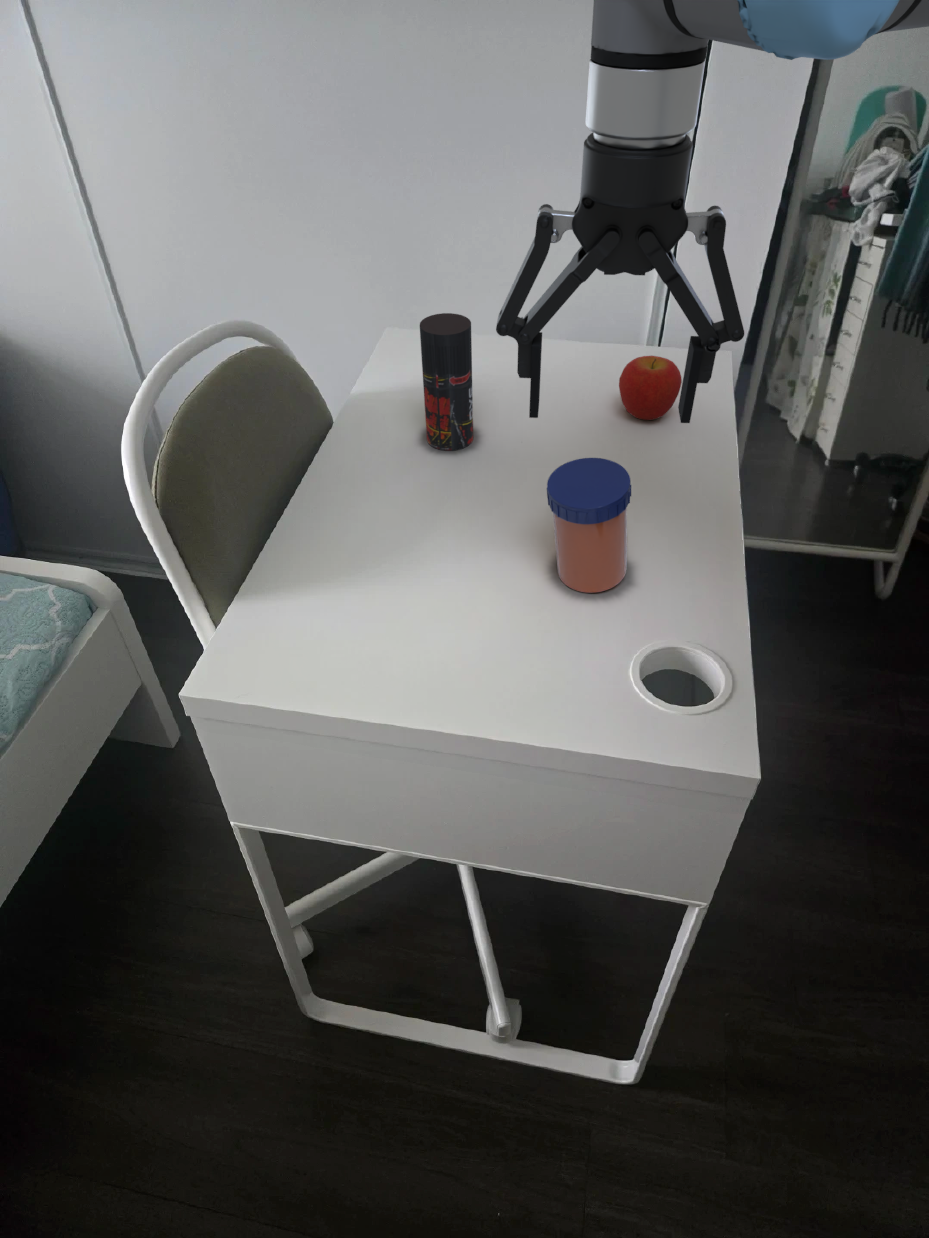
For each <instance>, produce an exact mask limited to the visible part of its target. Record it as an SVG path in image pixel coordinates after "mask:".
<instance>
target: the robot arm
mask: <svg viewBox="0 0 929 1238" xmlns="http://www.w3.org/2000/svg"><path fill="white" fill-rule="evenodd" d="M591 21H592V23H591V36H590V37H591V39H590V46H591V47H590V59H589V63H588V64H589V65H588V79H587V93H586V107H585V121H584V125H585V126H586V128H587V129H588V130H589V131H590V132H591V133H589V134H588V136H587V137H586V138H585V139H584V141H583V149H582V164H581V165H582V166H581V180H580V193H579V194H580V195H579V201H578V204H577V206H576V208H575V209H574V211H571V210H570V211H569V210H560V209H559V210H557V209H554V208H553V206H552V205H550V204H548V203H544V204H542V205H541V206H540V207H539V208H538V211H537V217H536V224H535V235H534V238H533V239H532V242H531V244H530V246H529V248H528V250H527V252H526V255H525V257H524V259H523V261H522V263H521V266H520V268H519V269H518V271H517V274H516V276H515V278H514V281H513V283H512V285H511V287H510V289H509V291H508V293H507V295H506V297H505V300H504V302H503V304H502V307H501V309H500V311H499V312H498V317H497V321H496V326H495V331H496V333H497V335H499V336H500V337H507V336H508V337H509V338H513V340H515V341H516V343H517V370H516V371H517V372H516V373H517V375H518V378H519V379H530V386H529V413H528V414H529V415H528V418H530V419H538V418H539V410H540V396H541V395H540V394H541V393H540V392H541V375H542V374H541V371H542V348H543V332H542V330H543V329H544V327H546V325H547V324H548V323H549V322H550V321H551V320H552V318H553V317H554V316H555V315H556V314H557V312H558V311H559V310H560V309H561V308H562V307H563V306H564V304H565V303H566V302H567V301H568V300H569V298H570V297H571V296H573V294H574V293H575V292H576V290H578V289H579V287H580V286H581V285H582V284H583V283H585V282H586V281H587V280H588V279H589V278H590V277H591V276H592V274H593V273H594V272H595V271H596V270H598V271H599V272H602V273H603V275H604V276H617V275H620V274H624V273H626V274H629V275H633V276H646V273H649V272H651V271H654V270H655V271H656V273H657V275H658V276H659V278H660V279H661V281H662V282H663V284H665V286H666V287H667V289H668V290H669V292H670V293H671V295H672V297H673V298H674V300H675V301H676V302H677V304H678V306H679V308H680V310H681V311H682V313H683V314H684V316H685V318H686V319H687V321H688V322H689V324H690V325H691V327H692V328H693V330H694V332H695V334H696V335H690V337H689V343H688V348H687V349H688V350H687V355H686V361H685V365H684V371H683V377H682V383H681V388H680V395H679V400H678V406H677V408H678V414H679V420H680V424H691V419H692V413H693V408H694V403H695V397H696V391H697V386H698V384H708V383H709V382H710V380H711V379H712V375H713V371H714V365H715V360H716V356H717V352H718V351H720V349H721V346H722V344H724V343H727V342H732V343H737V342H740V341H742V339H744V336H745V329H744V324H743V321H742V317H741V313H740V310H739V305H738V301H737V297H736V293H735V289H734V285H733V282H732V277H731V273H730V269H729V265H728V262H727V257H726V254H725V253H726V252H725V250H724V247H725V237H726V228H727V221H726V220H727V219H726V218H725V214H724V211H723V209H722V207H720V206H719V205H712V206H709V208H707V210H706V211H694V212H693V211H692V212H687V210H686V208H685V201H686V193H687V188H688V180H689V174H690V168H691V167H690V166H691V160H692V154H693V147H694V143H693V141H692V140H691V138H690V136H689V133H690V132H691V131H693V130H694V129H695V128H696V126H697V122H698V114H699V109H700V108H699V107H700V101H701V94H702V87H703V79H704V74H705V73H704V72H705V66H706V59H707V56H708V55H707V54H708V48H709V41H713V42H718V43H722V44H728V45H732V46H738V47H742V48H748V49H752V50H756V51H761V52H765V53H768V54H773V55H774V56H775V57H776V58H780V59H784V60H789V61H793V60H795V59H799V58H805V59H816V60H825V61H829V60H831V61H832V60H837V59H840V58H845V57H847V56H849V55H851V54H853V53H855V52H857V50H859V49H860V48H861V47H862V46H863V43H865V42H866V41H867V40H868V39H870V38H871V37H873V36H875V35H878V34H881V33H888V32H896V31H897V32H898V31H904V30H911V29H912V30H913V29H920V28H928V27H929V0H593V8H592V20H591ZM569 230H571V231H572V232H573V234H574V236H575V238H576V240H577V241H578V242H579V244H580V247H579V249H578V250H577V251H576V252H575V254H574V255H573V256H572V258H571V260H570V262H569V263H568V264H567V265H566V266H565V267H564V269H562V271H561V272H560V274H559V275H558V276H557V277H556V278H555V279H554V281H553V282H552V283H551V284H550V285H549V286H548V288H547V289H546V290H545V291H544V293H543V294H542V295H541V296H540V298H539V299H538V300H537V301H536V302H535V304H533V306H532V307H531V308H530V309H529V311H528V312H527V313H526V314H525V316H524V317H523V316H519V315H520V313H521V311H522V309H523V306H524V304H525V302H526V301H527V298H528V296H529V294H530V292H531V290H532V288H533V286H534V284H535V282H536V280H537V278H538V275H539V273H540V271H541V270H542V267H543V265H544V263H545V262H546V260H547V257H548V255H549V251H550V248H551V244H557V243H559V242H560V241H561V240H562V238H563V235H564V234H565V232H567V231H569ZM687 232H691V233H693V235H694V236H693V237H694V240H695V242H696V244H698V245H700V246H703V247H704V251H705V254H706V257H707V262H708V266H709V270H710V273H711V277H712V281H713V284H714V287H715V292H716V295H717V299H718V303H719V307H720V311H721V315H722V318H723V320H720V321H716V322H715V321H713V319H712V317H711V315H710V314H709V311H708V310H707V308H706V307H705V306H704V304H703V301H701V299H700V297H699V296H698V294H697V292H696V291H695V289H694V288H693V286H692V285H691V283H690V281H689V279H688V277H687V276H686V274H685V273H684V271H683V269H682V268H681V266H680V264H679V263H678V261H677V259H676V257H675V255H674V253H673V252H672V250H673V248H674V247H675V245H677V244H678V243H679V241H680V240H681V239H682V238H683V237H684V236H685V234H686V233H687Z"/></svg>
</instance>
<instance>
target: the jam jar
mask: <svg viewBox="0 0 929 1238" xmlns="http://www.w3.org/2000/svg"><path fill="white" fill-rule="evenodd" d="M627 508H628V506H627V507H626V510H624V511H623V512H622V513H621V514H619V515H618V516H616V517H615V518H613V519H611V520H608V521H605V522H601V523H596V524H576V523H572V522H568V521H565V520H563V519H561V518H559V517H558V516H557V515H555V514H554V513H553V512H552V517H553V519H552V520H553V530H554V541H555V543H554V544H555V554H556V555H555V556H556V565H557V566H556V567H557V575H558V577H559V579H560V581H561V582H562V583H563V584H564V585H565V586H566V587H568V588H570V589H571V590H574V591H577V592H580V593H586V594H587V593H588V594H589V593H590V594H591V593H592V594H594V593H601V592H604V591H608V590H610V589H613V588H614V587H616V586H617V585H618V584H620V583H621V582H622V581H623V579H624V578H625V576H626V573H627V568H628V567H627V555H628V554H627V551H628V550H627V547H628V546H627V545H628V544H627V543H628V542H627V541H628V540H627V539H628V537H627V535H628V533H627V528H628V527H627V526H628V525H627V524H628V523H627V520H628V519H627V518H628V517H627V516H628V515H627V511H628V509H627Z"/></svg>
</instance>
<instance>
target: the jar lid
mask: <svg viewBox="0 0 929 1238" xmlns="http://www.w3.org/2000/svg"><path fill="white" fill-rule="evenodd" d="M546 497H547V505H548V506H549V508H550V510H551V512H552V514H553V513H554V514H555V515H557V516H558V517H559V518H561V519H563V520H565V521H568V522H572V523H576V524H596V523H601V522H605V521H608V520H611V519H613V518H615V517H616V516H618V515H619V514H621V513H622V512H623V511H624V510H626V507H627V508H628V506H629V504H631V497H632V484H631V476H630V474H629V472H628V471H627V470H626V468H625V467H624V466H623V465H621V464H620V463H618V462H615V461H613V460H610V459H607V458H601V457H583V458H576V459H573V460H570V461H567V462H565V463H563V464H562V465H560V466H558V467H557V468H555V470H553V472H551V474H550V475H549V477H548V479H547V482H546Z"/></svg>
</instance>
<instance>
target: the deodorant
mask: <svg viewBox="0 0 929 1238" xmlns="http://www.w3.org/2000/svg"><path fill="white" fill-rule="evenodd" d="M419 339H420V354H421V369H422V384H423V385H422V386H423V399H424V417H425V432H426V441H427V444H429V446H430V447H431V448H432V449H433V448H434V449H435V450H438V451H443V452H444V451H445V452H454V451H459V450H462V449H465V448H467V447H469V446H470V445H471V444H472V443H473V441H474V406H473V405H474V403H473V402H474V401H473V355H472V354H473V350H472V349H473V348H472V345H473V344H472V321H471V319H470V318H468V317H467V316H465V315H462V314H458V313H451V312H449V313H448V312H443V313H435V314H431V315H429V316H426V317H424V318H423V319H422V320H421V321H420V322H419Z"/></svg>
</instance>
